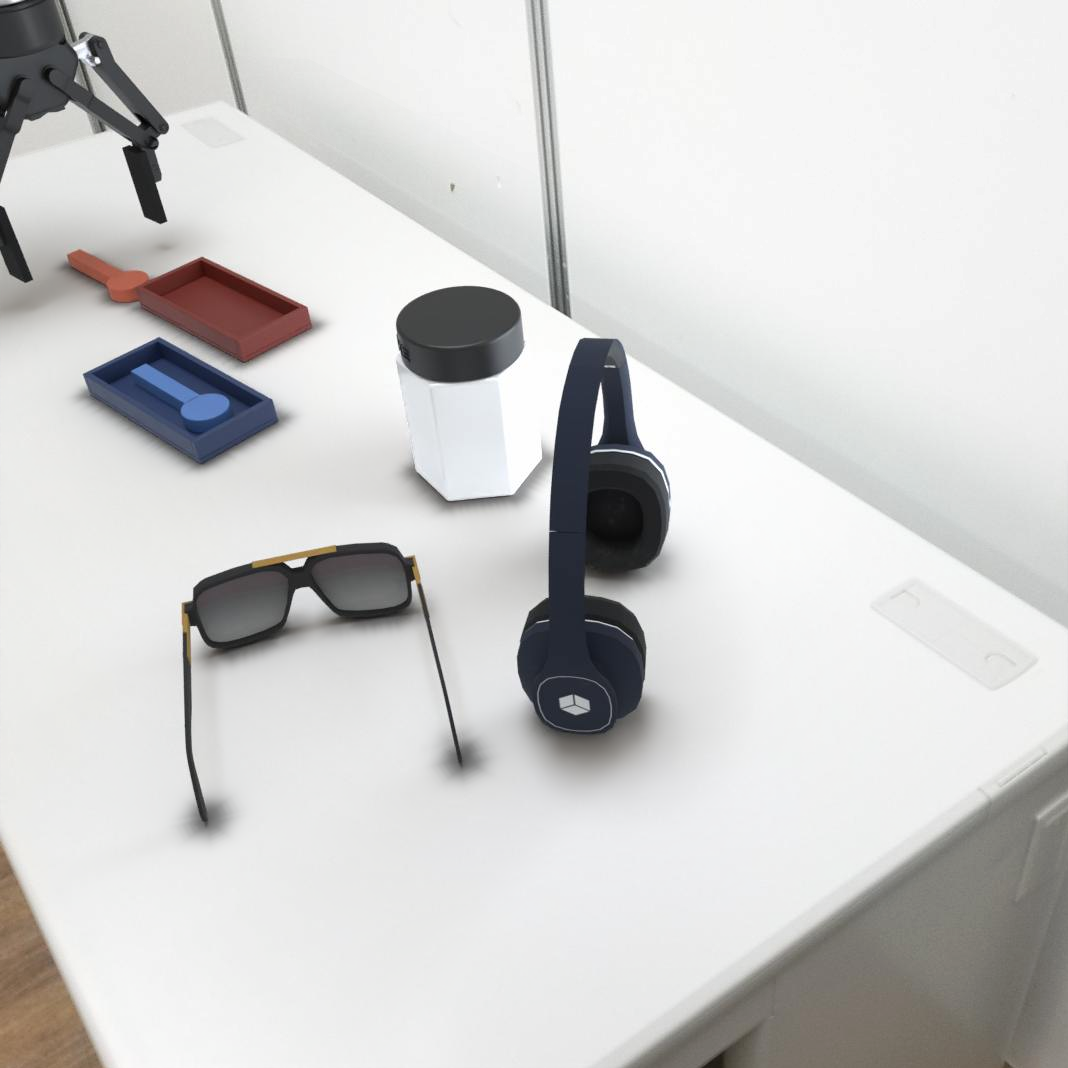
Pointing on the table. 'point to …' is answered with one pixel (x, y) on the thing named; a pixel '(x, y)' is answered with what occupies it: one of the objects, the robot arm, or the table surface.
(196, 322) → the red tray
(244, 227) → the table surface
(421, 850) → the table surface
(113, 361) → the blue tray
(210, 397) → the blue spoon
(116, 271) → the red spoon
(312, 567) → the sunglasses
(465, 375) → the jar
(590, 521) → the headphones
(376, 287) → the table surface
